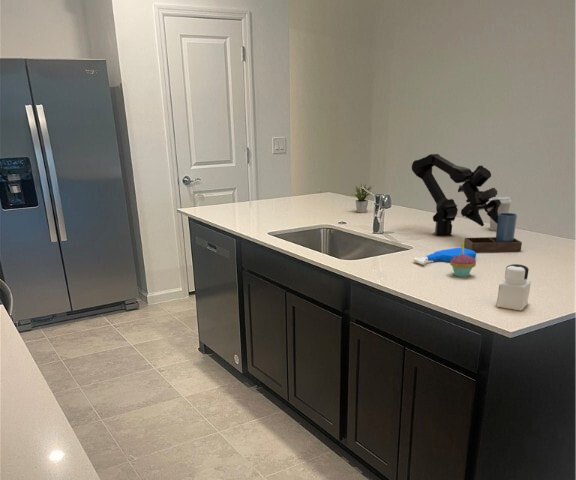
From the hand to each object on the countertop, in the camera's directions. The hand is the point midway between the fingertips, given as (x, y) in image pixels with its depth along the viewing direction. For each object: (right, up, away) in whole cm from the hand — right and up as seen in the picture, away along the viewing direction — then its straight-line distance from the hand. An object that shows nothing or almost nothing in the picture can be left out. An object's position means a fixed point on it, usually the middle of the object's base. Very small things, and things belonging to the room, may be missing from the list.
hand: (490, 224), depth 227 cm
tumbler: (+4, -10, -3) cm, 11 cm away
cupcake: (-23, -25, -36) cm, 50 cm away
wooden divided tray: (-1, -11, -3) cm, 11 cm away
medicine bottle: (-18, -38, -65) cm, 78 cm away
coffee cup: (+15, +4, +32) cm, 35 cm away
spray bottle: (-25, -18, -17) cm, 35 cm away
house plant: (-42, +23, +81) cm, 94 cm away
